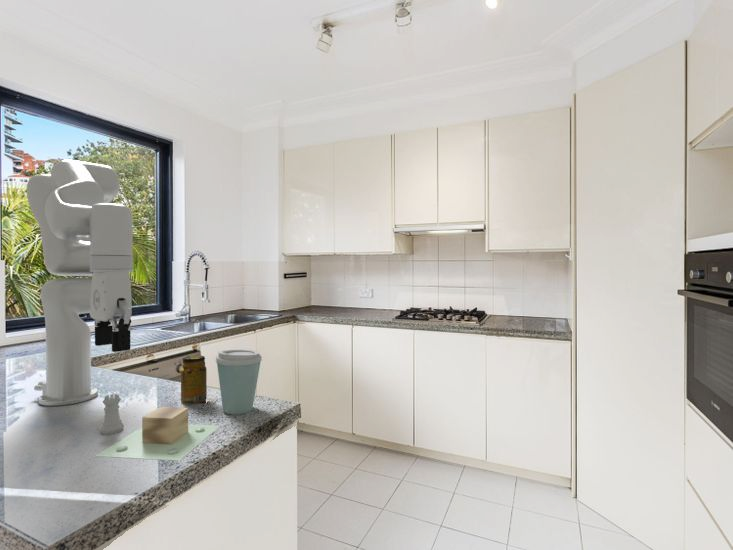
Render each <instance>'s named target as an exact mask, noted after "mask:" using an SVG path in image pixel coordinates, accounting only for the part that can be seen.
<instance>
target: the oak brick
mask: <svg viewBox="0 0 733 550" xmlns="http://www.w3.org/2000/svg"><path fill="white" fill-rule="evenodd" d="M141 419H142V420H141V424H142V426H141V427H142V443H152V444H173V443H175V442H176V441H177V440H178V439H180V438H181V437H182V436H184V435H185V434H186V433H188V424H189V407H179V406H178V407H175V406H172V407H171V406H160V407H158V408H155V409H154V410H153V411H151V412H149V413H147V414H146V415H144V416H142V418H141Z"/></svg>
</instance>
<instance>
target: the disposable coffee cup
mask: <svg viewBox="0 0 733 550" xmlns="http://www.w3.org/2000/svg"><path fill="white" fill-rule="evenodd" d="M262 358H263V357H262V355H261V354H260V352H259V351H257V350H252V349H224V350H219V351H218V354H217V355H216V356H215V363H216V365H217V374H218V383H219V389H220V390H219V391H220V397H221V405H222V407H221V408H222V411H223V413H225V414H227V415H242V414H245V413H248V412H251V411H252V410H253V407H254V402H255V396H256V391H257V384H258V379H259V373H260V367H261V362H262V361H263V359H262Z"/></svg>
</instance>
